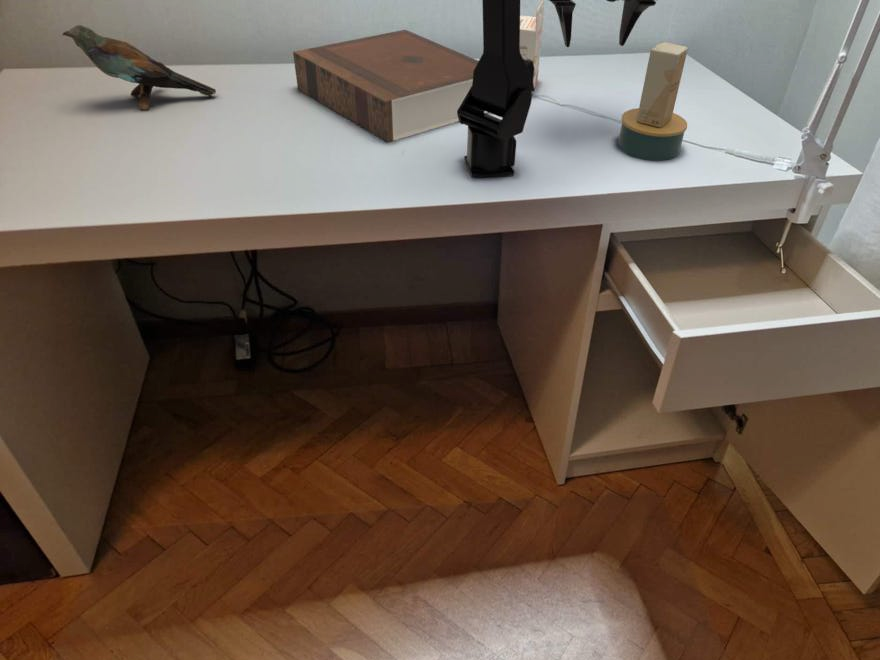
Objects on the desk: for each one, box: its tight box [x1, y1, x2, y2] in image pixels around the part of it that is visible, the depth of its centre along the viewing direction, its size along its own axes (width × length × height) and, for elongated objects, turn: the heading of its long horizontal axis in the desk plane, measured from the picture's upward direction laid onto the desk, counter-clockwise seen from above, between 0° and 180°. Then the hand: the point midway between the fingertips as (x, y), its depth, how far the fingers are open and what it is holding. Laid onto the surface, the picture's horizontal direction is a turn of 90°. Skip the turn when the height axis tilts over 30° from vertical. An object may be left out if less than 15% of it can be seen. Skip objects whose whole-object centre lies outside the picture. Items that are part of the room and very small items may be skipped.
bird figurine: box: [62, 24, 217, 111], centre depth 115 cm, size 13×10×20 cm
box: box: [637, 41, 689, 128], centre depth 106 cm, size 5×4×11 cm
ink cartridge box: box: [520, 0, 545, 95], centre depth 126 cm, size 9×5×15 cm, turn 168°
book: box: [292, 29, 489, 143], centre depth 122 cm, size 24×28×6 cm
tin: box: [617, 107, 688, 161], centre depth 111 cm, size 10×10×4 cm
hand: (594, 45), depth 110 cm, fingers open, 9 cm apart
